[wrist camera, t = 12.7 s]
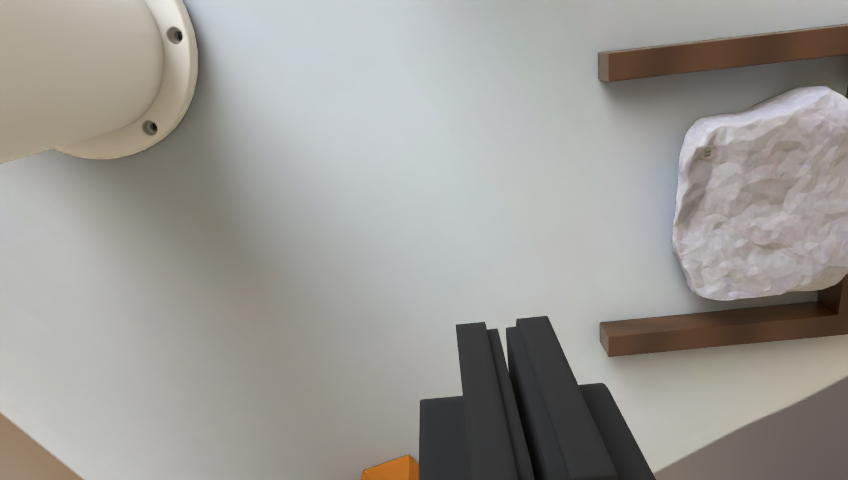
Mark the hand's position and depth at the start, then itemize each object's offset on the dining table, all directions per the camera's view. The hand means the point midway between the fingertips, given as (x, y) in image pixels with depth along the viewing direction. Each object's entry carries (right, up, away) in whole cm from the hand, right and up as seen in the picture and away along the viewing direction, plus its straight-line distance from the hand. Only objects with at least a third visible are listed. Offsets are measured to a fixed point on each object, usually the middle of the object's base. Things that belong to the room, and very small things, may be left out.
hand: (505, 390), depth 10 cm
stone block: (+18, +6, +25) cm, 31 cm away
